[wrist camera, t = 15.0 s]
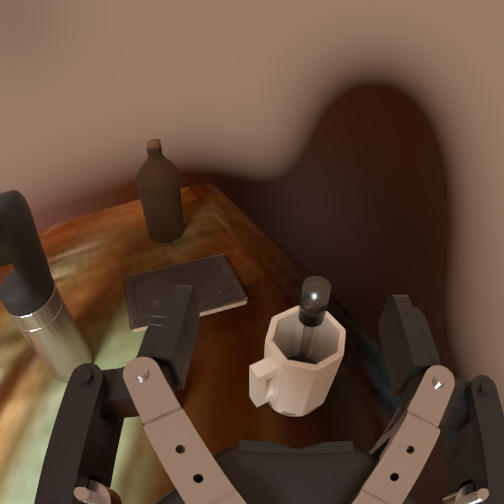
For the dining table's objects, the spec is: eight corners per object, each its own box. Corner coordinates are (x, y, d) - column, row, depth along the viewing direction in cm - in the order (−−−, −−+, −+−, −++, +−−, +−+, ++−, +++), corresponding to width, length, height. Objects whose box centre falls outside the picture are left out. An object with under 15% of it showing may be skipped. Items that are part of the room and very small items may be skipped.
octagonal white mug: (237, 388, 47) (233, 333, 38) (301, 356, 52) (314, 297, 43) (269, 436, 40) (276, 394, 31) (336, 397, 45) (361, 344, 36)
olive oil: (168, 248, 76) (153, 150, 61) (138, 236, 80) (121, 146, 65) (194, 227, 84) (185, 136, 68) (164, 217, 88) (153, 132, 72)
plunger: (265, 371, 45) (271, 277, 34) (302, 352, 48) (321, 257, 36) (290, 405, 40) (311, 319, 29) (329, 383, 43) (361, 293, 32)
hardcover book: (248, 306, 62) (248, 298, 61) (133, 336, 55) (130, 328, 54) (223, 259, 74) (222, 251, 72) (126, 282, 67) (123, 274, 66)
